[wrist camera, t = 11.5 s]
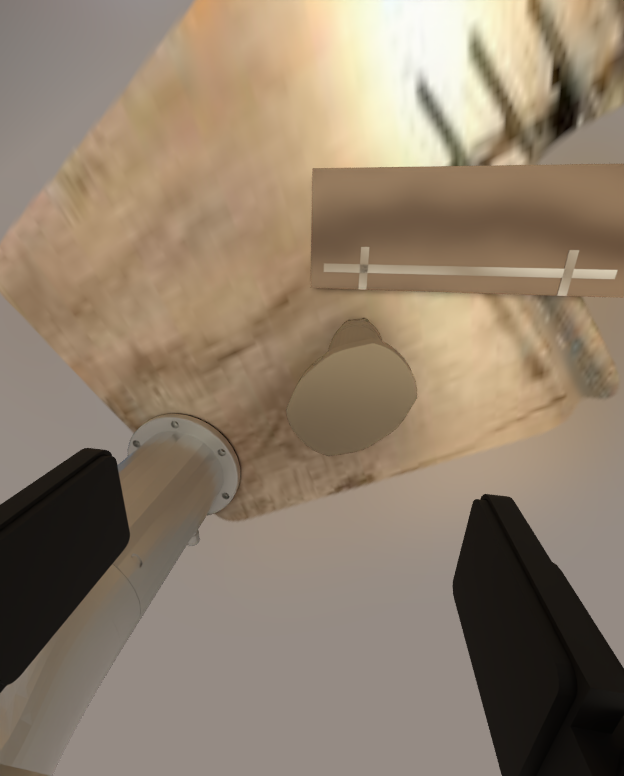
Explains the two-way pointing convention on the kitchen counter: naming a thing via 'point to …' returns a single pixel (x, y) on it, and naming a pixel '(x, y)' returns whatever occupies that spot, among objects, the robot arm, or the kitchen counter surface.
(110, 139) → the kitchen counter surface
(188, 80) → the kitchen counter surface
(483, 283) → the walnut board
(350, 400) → the handle
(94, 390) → the kitchen counter surface
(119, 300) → the kitchen counter surface
